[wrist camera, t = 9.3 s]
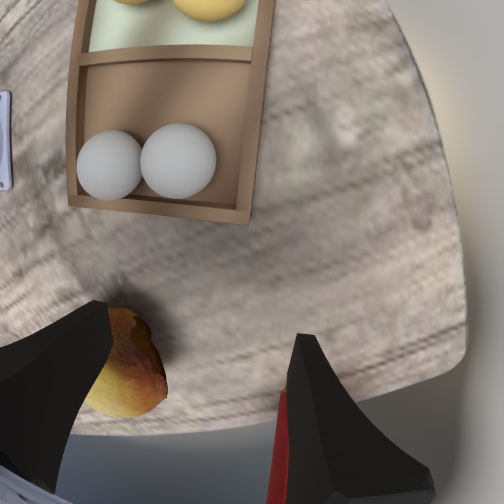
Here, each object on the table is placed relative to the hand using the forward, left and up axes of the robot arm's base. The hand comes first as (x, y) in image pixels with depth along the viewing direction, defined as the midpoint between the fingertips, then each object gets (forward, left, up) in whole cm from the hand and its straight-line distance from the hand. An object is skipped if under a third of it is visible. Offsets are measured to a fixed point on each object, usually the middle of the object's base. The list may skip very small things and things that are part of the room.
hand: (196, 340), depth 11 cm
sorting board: (-5, +10, -10) cm, 15 cm away
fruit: (-7, -9, -10) cm, 15 cm away
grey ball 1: (-8, +5, -9) cm, 13 cm away
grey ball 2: (-2, +5, -9) cm, 11 cm away
